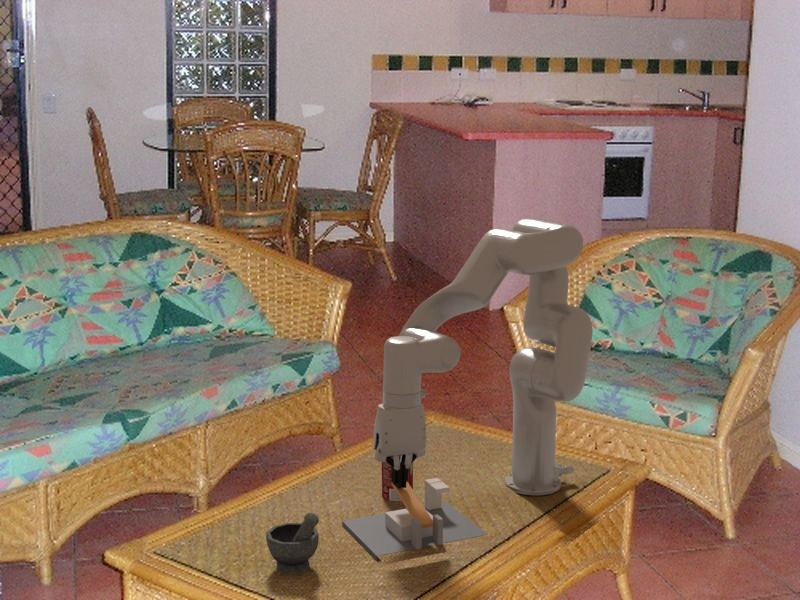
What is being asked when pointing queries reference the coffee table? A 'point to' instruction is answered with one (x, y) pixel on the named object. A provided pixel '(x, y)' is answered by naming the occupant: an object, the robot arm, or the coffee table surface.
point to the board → (391, 544)
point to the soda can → (387, 486)
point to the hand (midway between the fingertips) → (399, 485)
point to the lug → (434, 493)
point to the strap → (414, 505)
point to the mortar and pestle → (293, 544)
